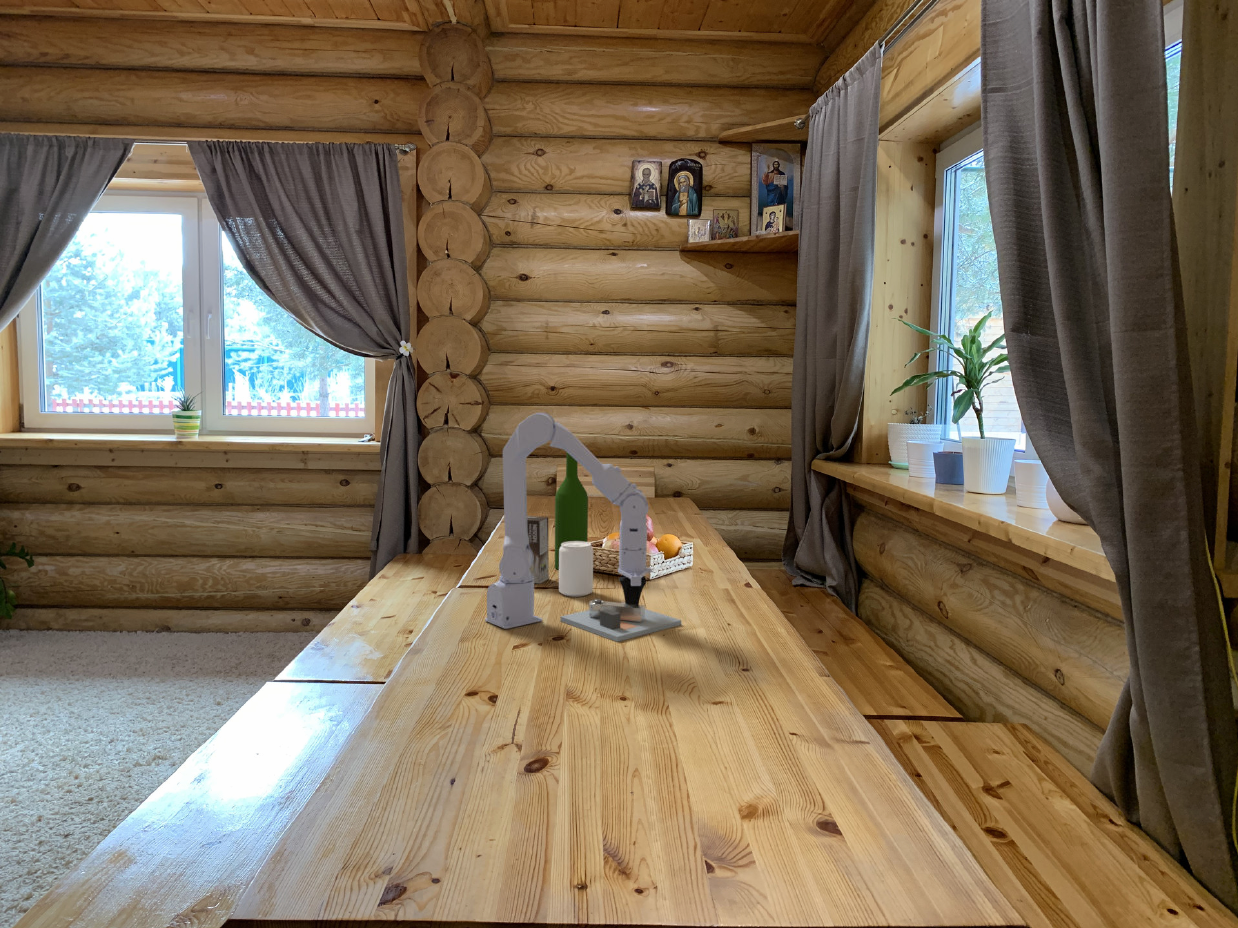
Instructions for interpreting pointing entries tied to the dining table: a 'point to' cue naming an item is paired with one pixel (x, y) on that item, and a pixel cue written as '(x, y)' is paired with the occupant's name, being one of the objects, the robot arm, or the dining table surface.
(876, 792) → the dining table surface
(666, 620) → the latch board
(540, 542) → the coffee box
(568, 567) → the beverage can
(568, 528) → the wine bottle
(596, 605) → the latch bar
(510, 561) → the robot arm
